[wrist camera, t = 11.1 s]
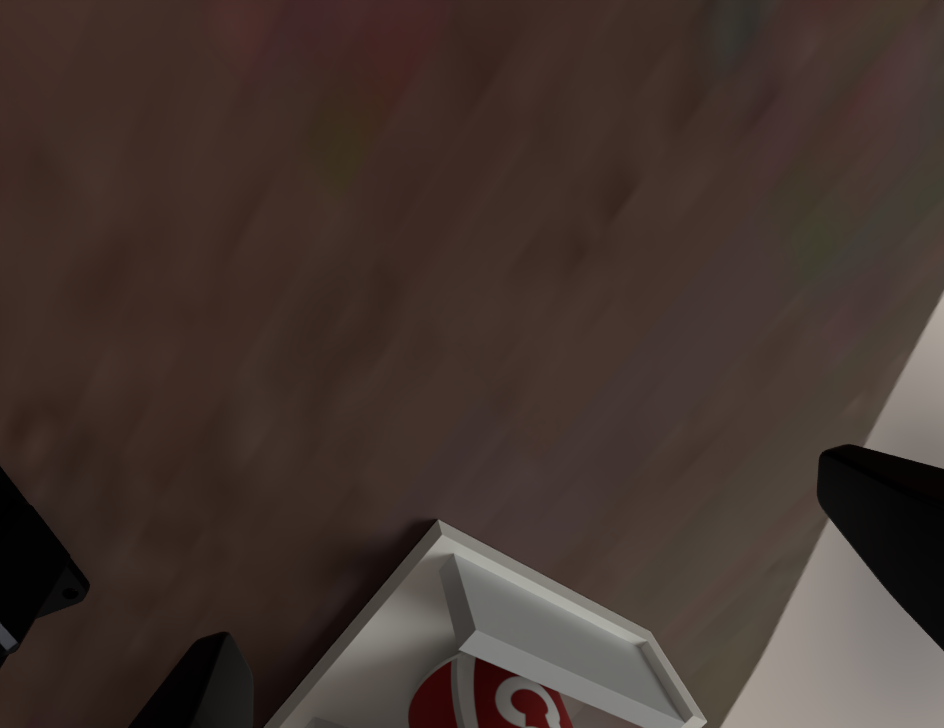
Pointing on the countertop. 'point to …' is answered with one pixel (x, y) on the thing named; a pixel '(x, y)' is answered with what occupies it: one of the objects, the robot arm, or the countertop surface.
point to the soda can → (483, 698)
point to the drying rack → (487, 645)
